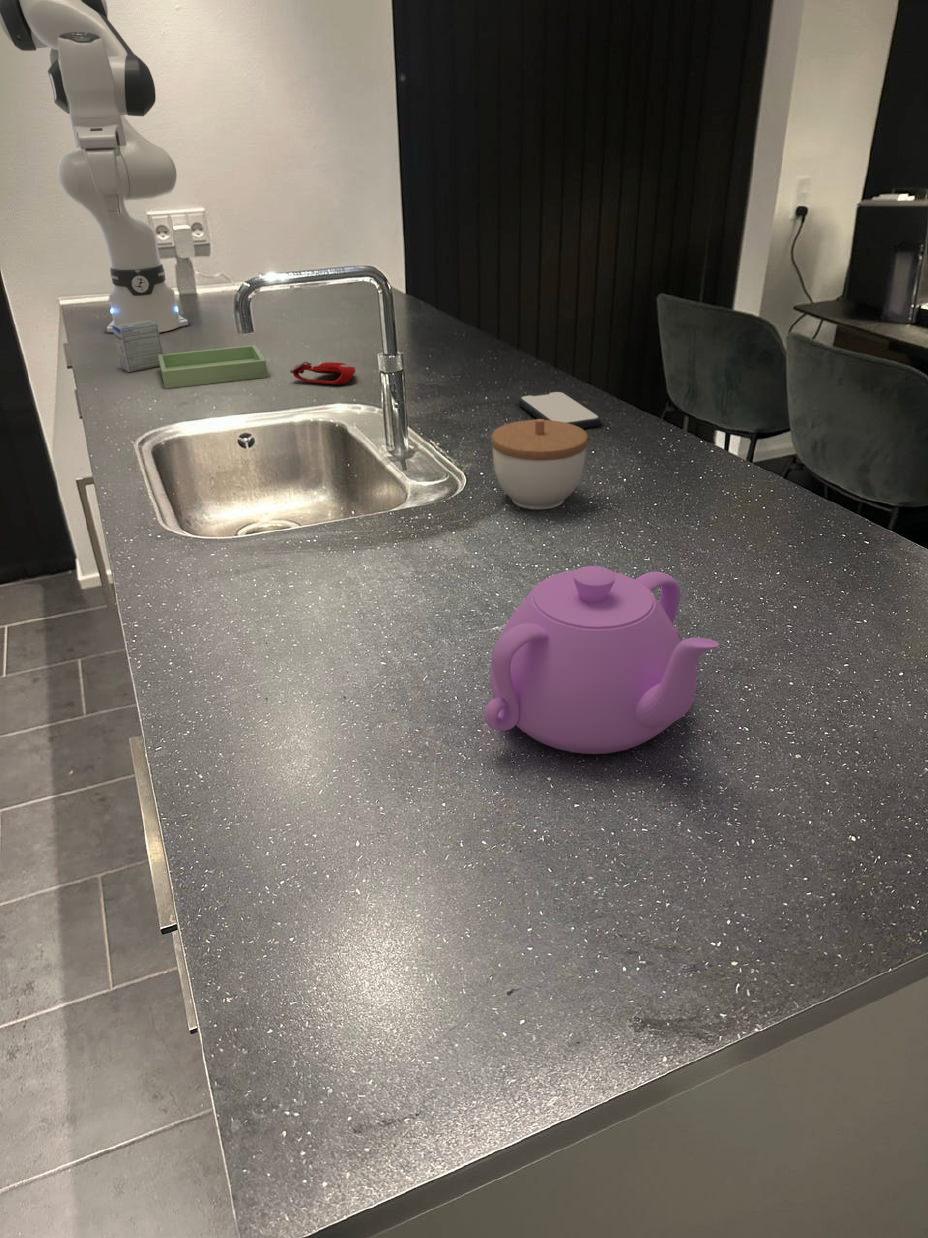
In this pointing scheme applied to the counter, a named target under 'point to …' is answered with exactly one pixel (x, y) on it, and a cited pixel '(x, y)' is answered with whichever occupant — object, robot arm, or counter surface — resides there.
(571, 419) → the phone case
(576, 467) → the lidded bowl
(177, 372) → the tray
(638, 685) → the teapot
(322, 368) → the tracker holder
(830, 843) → the counter surface
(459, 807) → the counter surface
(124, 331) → the medicine box
